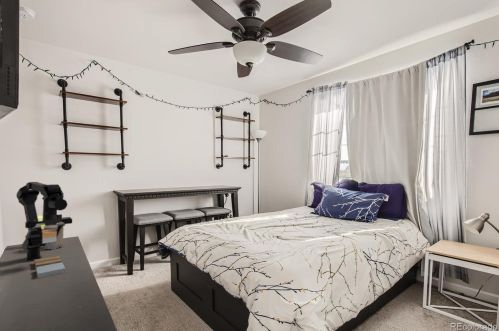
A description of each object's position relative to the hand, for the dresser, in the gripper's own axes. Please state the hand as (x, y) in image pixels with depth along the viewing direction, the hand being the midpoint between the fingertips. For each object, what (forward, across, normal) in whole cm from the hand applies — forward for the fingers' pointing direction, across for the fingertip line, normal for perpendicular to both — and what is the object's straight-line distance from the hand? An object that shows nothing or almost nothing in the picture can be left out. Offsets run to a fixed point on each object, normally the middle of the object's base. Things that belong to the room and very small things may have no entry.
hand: (48, 238), depth 129 cm
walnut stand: (+13, 0, 0) cm, 13 cm away
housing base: (+1, 0, 0) cm, 1 cm away
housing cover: (-2, 0, 0) cm, 2 cm away
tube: (+13, -1, +41) cm, 43 cm away
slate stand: (+13, 0, -13) cm, 18 cm away
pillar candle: (+13, +5, +31) cm, 34 cm away
